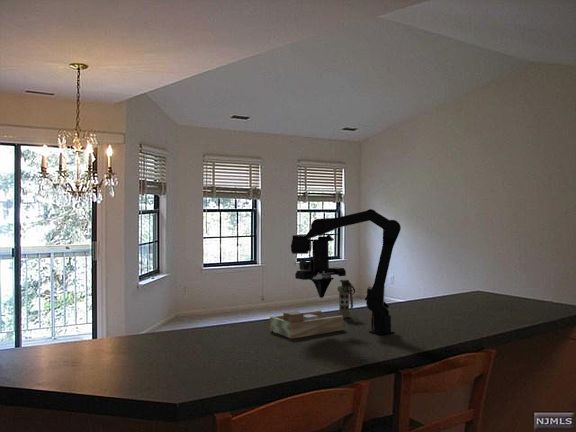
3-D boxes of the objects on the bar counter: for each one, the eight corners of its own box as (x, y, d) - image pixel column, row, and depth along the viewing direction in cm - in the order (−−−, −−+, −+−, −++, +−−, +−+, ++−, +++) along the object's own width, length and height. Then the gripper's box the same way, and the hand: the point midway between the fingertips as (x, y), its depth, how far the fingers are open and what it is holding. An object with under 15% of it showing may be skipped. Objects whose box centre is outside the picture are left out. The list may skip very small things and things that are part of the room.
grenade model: (346, 319, 200) (345, 281, 200) (336, 316, 206) (335, 279, 206) (359, 317, 203) (358, 280, 203) (348, 315, 209) (348, 278, 209)
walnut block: (303, 327, 174) (303, 313, 174) (291, 329, 172) (291, 314, 172) (295, 325, 178) (295, 310, 178) (283, 327, 176) (283, 312, 176)
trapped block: (317, 328, 185) (317, 315, 186) (308, 329, 183) (308, 317, 183) (309, 326, 189) (309, 314, 189) (300, 328, 186) (300, 315, 186)
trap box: (343, 329, 181) (343, 315, 181) (291, 338, 169) (291, 323, 169) (319, 323, 193) (319, 310, 193) (270, 330, 181) (270, 316, 181)
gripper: (327, 251, 193) (328, 292, 193) (286, 254, 183) (287, 297, 183) (346, 252, 184) (347, 296, 184) (304, 255, 174) (305, 301, 174)
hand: (321, 297), depth 181 cm, fingers closed
